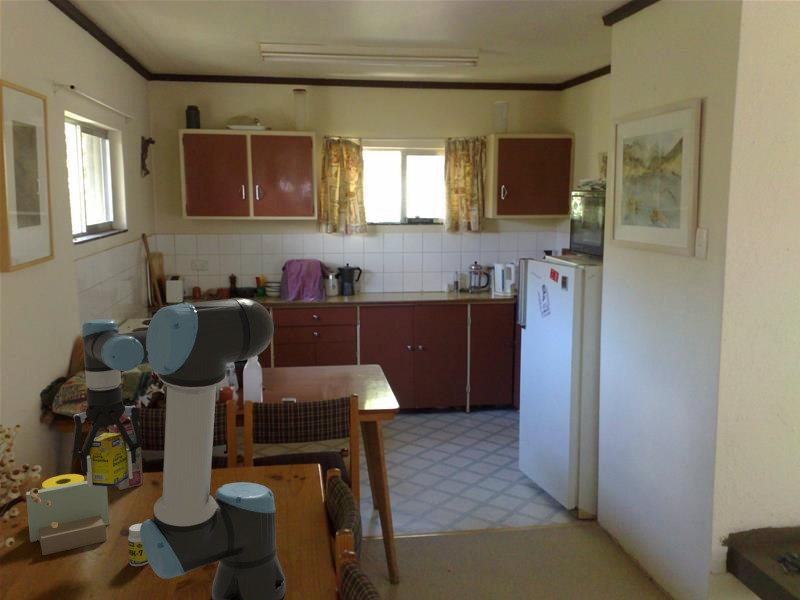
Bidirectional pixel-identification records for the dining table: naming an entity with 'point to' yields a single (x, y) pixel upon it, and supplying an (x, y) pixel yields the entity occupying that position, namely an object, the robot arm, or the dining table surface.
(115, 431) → the juice carton
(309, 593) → the dining table surface
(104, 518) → the letter holder
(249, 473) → the dining table surface
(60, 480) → the yellow hollow cylinder
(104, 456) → the supplement box
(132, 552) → the supplement bottle
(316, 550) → the dining table surface
